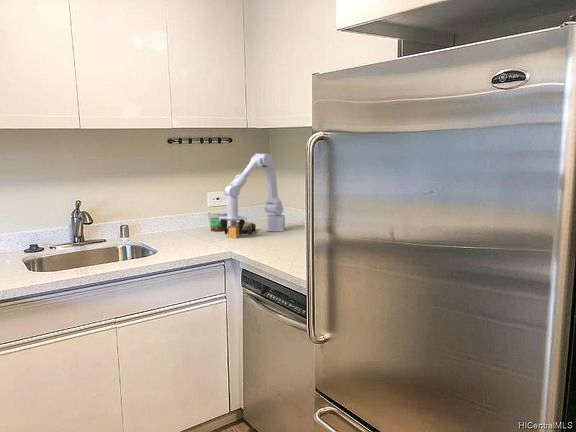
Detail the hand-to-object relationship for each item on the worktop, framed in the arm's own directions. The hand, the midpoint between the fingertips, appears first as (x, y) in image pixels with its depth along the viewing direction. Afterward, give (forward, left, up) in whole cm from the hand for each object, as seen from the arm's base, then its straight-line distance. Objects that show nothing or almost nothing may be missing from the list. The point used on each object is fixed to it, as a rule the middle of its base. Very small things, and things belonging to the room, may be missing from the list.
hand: (233, 234), depth 241 cm
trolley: (-1, -14, -2) cm, 14 cm away
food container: (+14, -16, -2) cm, 21 cm away
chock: (0, -2, -2) cm, 3 cm away
